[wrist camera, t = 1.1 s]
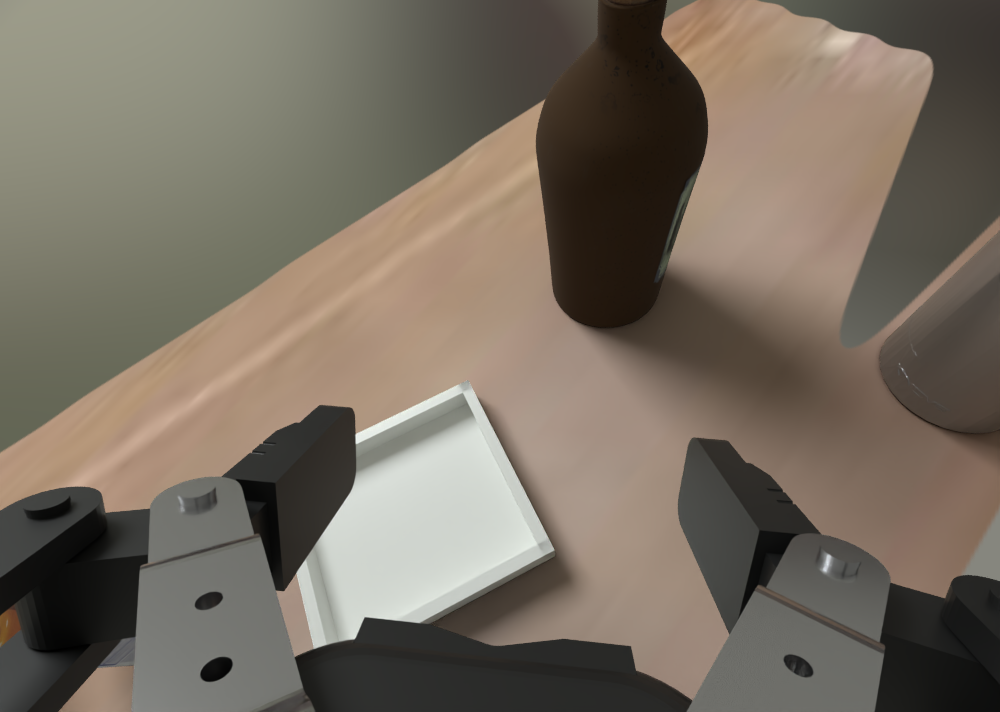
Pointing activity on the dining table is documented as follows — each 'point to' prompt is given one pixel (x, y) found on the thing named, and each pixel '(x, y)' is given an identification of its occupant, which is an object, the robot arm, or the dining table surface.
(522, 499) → the tray
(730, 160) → the dining table surface
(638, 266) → the brown bottle
